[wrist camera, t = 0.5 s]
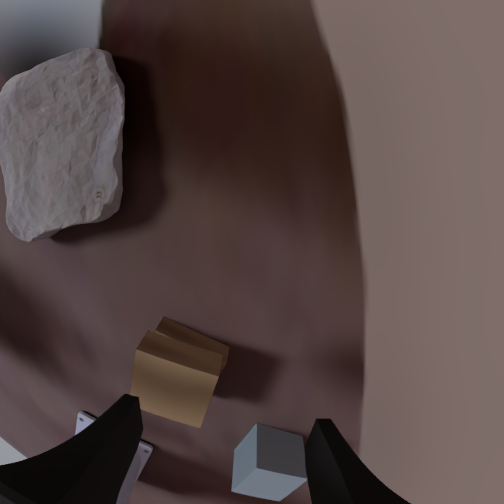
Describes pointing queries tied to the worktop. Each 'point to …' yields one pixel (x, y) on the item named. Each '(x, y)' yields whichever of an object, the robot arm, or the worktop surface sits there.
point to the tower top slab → (174, 378)
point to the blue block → (269, 463)
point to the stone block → (62, 143)
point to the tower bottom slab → (192, 338)
